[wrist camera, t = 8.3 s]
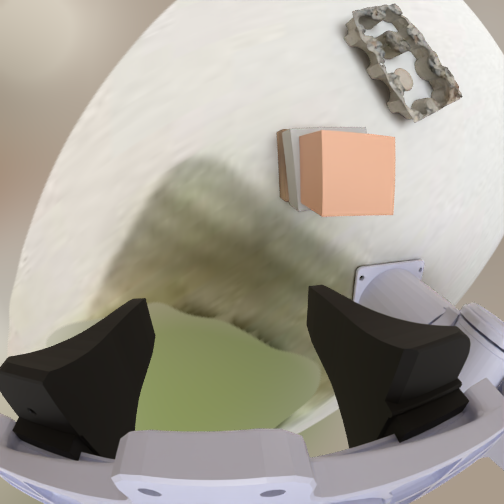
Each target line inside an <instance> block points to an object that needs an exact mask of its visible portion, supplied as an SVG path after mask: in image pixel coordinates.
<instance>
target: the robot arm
mask: <svg viewBox="0 0 504 504" xmlns="http://www.w3.org/2000/svg"><path fill="white" fill-rule="evenodd" d="M419 268H420V270H419ZM423 269H424V261H423V260H420V259H419V260H411V261H403V262H395V263H386V264H378V265H369V266H361V267H359V268H358V269H357V270H356V277H355V286H354V294H353V301H352V300H350V299H348V298H347V297H345V296H343V295H341V294H339V293H337V292H336V291H334V290H332V289H330V288H328V287H326V286H324V285H316V286H309V292H308V311H307V327H308V331H309V334H310V337H311V341H312V343H313V345H314V348H315V350H316V352H317V354H318V356H319V358H320V360H321V362H322V364H323V366H324V368H325V370H326V373H327V375H328V377H329V379H330V381H331V384H332V386H333V389H334V392H335V396H336V399H337V402H338V405H339V409H340V412H341V416H342V419H343V423H344V427H345V431H346V435H347V439H348V444H349V449H346V450H342V451H339V452H335V453H331V454H326V455H322V456H317V457H312V458H309V454H308V451H307V447H306V444H305V441H304V439H303V437H302V436H301V435H298V434H295V433H292V432H290V431H287V430H284V429H249V430H234V431H212V432H210V431H209V432H183V431H161V430H141V431H135V422H136V414H137V407H138V400H139V396H140V392H141V388H142V385H143V382H144V379H145V376H146V373H147V369H148V366H149V363H150V360H151V356H152V353H153V348H154V341H155V333H154V329H153V326H152V322H151V318H150V314H149V310H148V306H147V302H146V298H142V299H132V300H130V301H128V302H127V303H125V304H124V305H122V306H121V307H119V308H118V309H116V310H115V311H114V312H112V313H111V314H109V315H108V316H107V317H105V318H104V319H102V320H101V321H99V322H98V323H96V324H95V325H93V326H92V327H90V328H89V329H87V330H85V331H83V332H82V333H80V334H78V335H76V336H74V337H72V338H70V339H68V340H66V341H63V342H61V343H58V344H56V345H54V346H51V347H48V348H45V349H42V350H39V351H35V352H31V353H27V354H22V355H17V356H10V357H8V358H7V359H6V361H5V362H4V363H3V364H2V366H1V367H0V392H1V393H2V395H3V396H4V398H5V399H6V400H7V402H8V403H9V404H10V406H11V407H12V409H13V410H14V411H15V413H16V414H17V415H18V416H19V418H18V420H17V422H15V421H14V420H13V419H11V418H10V417H8V416H6V415H3V414H1V413H0V476H1V477H2V478H3V479H4V480H6V481H7V482H8V483H9V484H11V485H12V486H14V487H15V488H17V489H19V490H20V491H22V492H24V493H26V494H27V495H29V496H31V497H33V498H35V499H37V500H38V501H40V502H42V503H44V504H409V503H411V502H413V501H415V500H417V499H418V498H420V497H422V496H424V495H425V494H427V493H429V492H430V491H432V490H434V489H436V488H437V487H439V486H440V485H442V484H444V483H445V482H447V481H448V480H450V479H451V478H453V477H454V476H456V475H457V474H458V473H460V472H461V471H463V470H464V469H466V468H467V467H469V466H470V465H471V464H473V463H474V462H475V461H477V460H478V459H479V458H484V457H489V458H490V459H491V460H493V461H494V462H495V463H496V464H497V465H498V466H499V467H501V469H502V470H503V471H504V322H503V321H502V320H500V319H499V318H498V317H496V316H495V315H493V314H492V313H491V312H489V311H488V310H486V309H485V308H483V307H482V306H480V305H479V304H477V303H475V302H472V303H469V304H464V305H463V307H462V308H461V310H458V309H457V308H456V307H455V306H453V305H452V304H451V303H450V302H448V301H447V300H446V299H445V298H443V297H442V296H441V295H440V294H438V293H437V292H436V291H434V290H433V289H432V288H430V287H429V286H428V285H427V284H425V283H424V282H423V281H421V280H422V275H423ZM418 270H419V271H418ZM362 275H363V276H362ZM360 276H362V278H361V279H359V278H360ZM502 381H503V382H502ZM499 385H500V386H499Z"/></svg>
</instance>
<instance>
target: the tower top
mask: <svg viewBox="0 0 504 504" xmlns="http://www.w3.org/2000/svg"><path fill="white" fill-rule="evenodd" d="M320 130H329V131H343V132H355V133H365V134H367V133H366V127H316V128H294V129H288V130H286V131H284V132H282V138H283V146H284V154H285V164H286V173H287V183H288V193H289V204H290V205H291V206H292V207H293V208H295V209H296V210H297V211H306V210H311V209H310V208H308V207H307V206H305V205H303V204H302V203H301V197H300V147H299V136H302V135H305V134H309V133H313V132H316V131H320Z"/></svg>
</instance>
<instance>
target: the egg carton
mask: <svg viewBox="0 0 504 504" xmlns="http://www.w3.org/2000/svg"><path fill="white" fill-rule="evenodd" d="M352 13H353V18H352V19H351V20H350V21H349V22H348V23H347V24H346V26H347V29H348V34H347V36H345V37H344V40H345V41H346V42H347V44H348V45H349V46H350V47H358V48H361V49H362V50H364V51H365V52H366V53H367V55H368V57H369V59H370V65H369V67H368V68H367V69H366V71H367V73H368V74H369V76H370V77H371V79H378V80H381V81H383V82H384V83H385V84H386V85H387V86H388V88H389V90H390V99H389V101H388V102H387V106H388V108H389V110H390V111H391V112H392V113H400V114H401V115H403V116H404V117H405V118H406V119H414V123H415V122H418V121H420V120H421V119H423V118H425V117H427V116H429V115H431V114H432V113H434V112H436V111H438V110H440V109H441V108H443V107H445V106H446V105H449V104H451V103H453V102H455V101H456V100H458V99H460V97H462V94H461V92H460V91H459V86H458V84H457V82H456V81H455V80H454V77H453V75H452V74H451V72H450V71H449V70H448V68H447V67H444V66H442V65H441V63H440V61H439V59H438V56H437V54H436V52H434V51H432V49H431V48H430V46H429V45H428V44H427V42H426V41H425V39H424V37H423V35H422V34H421V32H420V31H419V30H418V29H417V28H416V27H415V26H414V25H413V24H412V23H410V22H409V20H408V19H407V18H406V17H404V16H403V15H401V14H402V12H401V9H400V8H399V7H398V6H397V5H396V4H392V5H382V6H375V7H367V8H364V9H361V10H355V11H353V12H352ZM382 20H384V21H386V22H389V23H392V24H393V25H394V26H395V27H396V29H397V30H398V32H397V33H396V32H393V31H386V32H384V33H383V34H382V35H380V36H379V37H377V38H376V39H375V38H373V36H365V35H364V32H365V29H371V28H373V27H374V26H375V25H376V24H378V23H379V22H381V21H382ZM406 51H411V52H412V54H413V55H414V56H415V58H416V59H417V60H416V62H415V70H416V72H417V74H418V75H419V76H420V78H422V79H423V80H426V81H429V82H430V84H431V86H432V89H433V91H432V93H431V98H424V99H419V100H416V101H414V102H413V104H412V106H411V109H410V108H409V107H408V106H407V105H406V104H405V101H404V98H403V95H404V91H409V90H411V89H412V86H413V80H412V78H411V76H410V74H409V73H408V72H407V71H406V70H404V69H401V68H398V69H396V70H395V72H394V73H388V74H387V72H386V67H385V66H384V62H385V61H384V59H383V58H385V59H391V58H394V57H396V56H398V55H400V54H402V53H404V52H406ZM380 63H383V65H382V66H381V65H380Z"/></svg>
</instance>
